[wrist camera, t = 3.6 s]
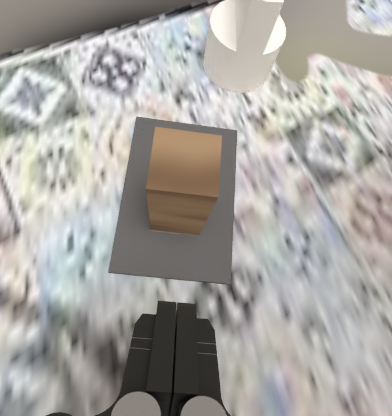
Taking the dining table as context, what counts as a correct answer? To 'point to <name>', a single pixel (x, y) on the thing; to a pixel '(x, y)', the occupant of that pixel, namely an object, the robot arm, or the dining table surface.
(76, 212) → the dining table surface
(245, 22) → the cylinder with rectangular tab
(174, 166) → the walnut block
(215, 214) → the rubber mat
